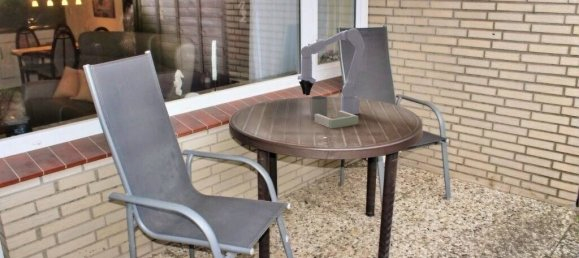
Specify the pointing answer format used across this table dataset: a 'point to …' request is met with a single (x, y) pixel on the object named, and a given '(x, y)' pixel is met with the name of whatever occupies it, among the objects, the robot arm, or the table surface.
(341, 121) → the stall
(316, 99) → the cup
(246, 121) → the table surface
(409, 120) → the table surface
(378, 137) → the table surface
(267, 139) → the table surface
